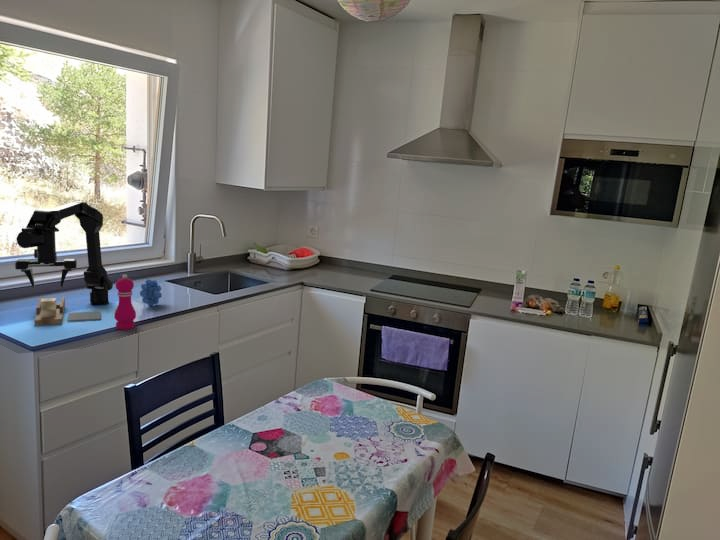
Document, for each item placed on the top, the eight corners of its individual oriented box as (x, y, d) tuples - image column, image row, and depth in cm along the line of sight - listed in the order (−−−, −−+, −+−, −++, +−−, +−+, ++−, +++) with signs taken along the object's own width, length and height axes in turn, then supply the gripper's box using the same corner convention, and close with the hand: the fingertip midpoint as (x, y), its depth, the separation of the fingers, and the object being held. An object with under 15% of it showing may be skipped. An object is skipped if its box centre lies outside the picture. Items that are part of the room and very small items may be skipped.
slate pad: (100, 312, 206) (100, 311, 206) (100, 319, 196) (100, 318, 196) (68, 314, 201) (68, 312, 201) (67, 321, 191) (67, 320, 191)
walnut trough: (65, 307, 209) (64, 296, 209) (61, 324, 188) (61, 312, 188) (40, 308, 205) (40, 297, 205) (34, 325, 185) (34, 313, 184)
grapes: (148, 310, 213) (148, 282, 211) (136, 308, 216) (135, 280, 214) (168, 305, 224) (168, 278, 222) (156, 302, 226) (156, 275, 224)
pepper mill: (118, 323, 193) (118, 271, 190) (138, 324, 194) (138, 272, 190) (111, 329, 186) (110, 275, 183) (132, 330, 187) (131, 276, 183)
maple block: (56, 313, 194) (55, 298, 193) (55, 316, 190) (55, 301, 189) (42, 314, 192) (41, 298, 191) (41, 317, 188) (40, 301, 187)
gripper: (76, 241, 197) (77, 281, 199) (18, 241, 188) (20, 283, 191) (75, 246, 187) (76, 288, 190) (14, 246, 178) (16, 290, 181)
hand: (47, 287), depth 188 cm, fingers open, 8 cm apart
